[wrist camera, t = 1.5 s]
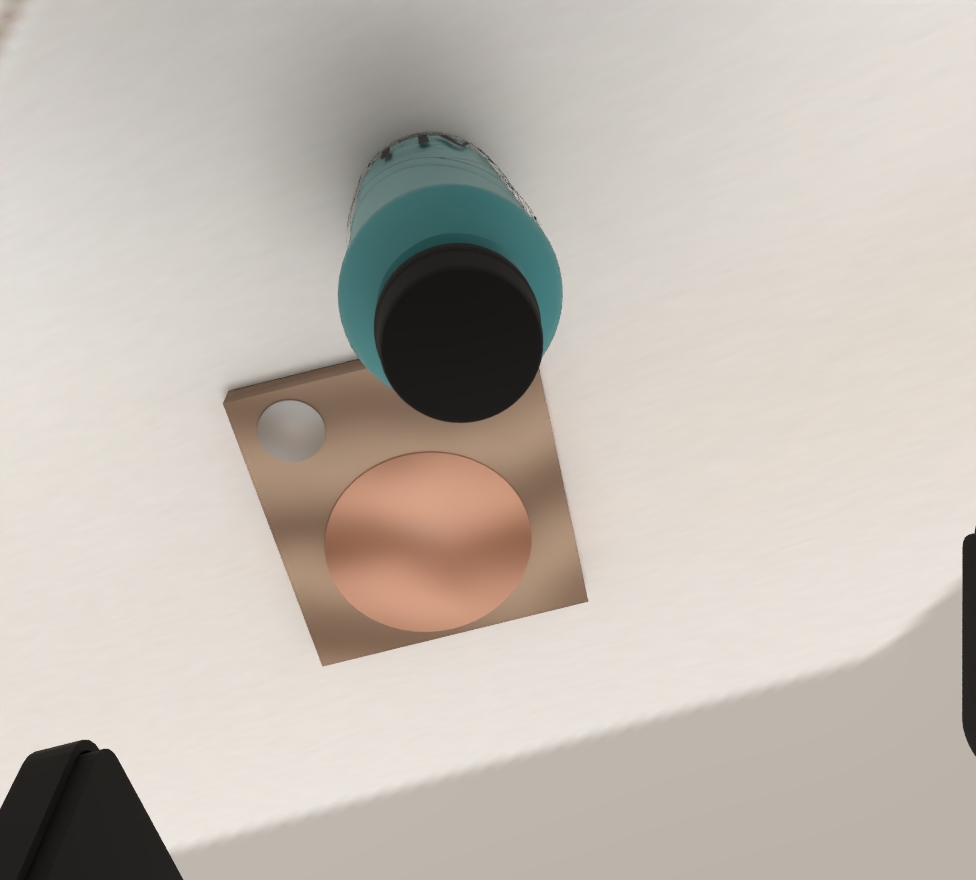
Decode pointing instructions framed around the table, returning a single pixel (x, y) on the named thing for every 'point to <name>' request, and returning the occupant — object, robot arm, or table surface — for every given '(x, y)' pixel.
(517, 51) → the table surface
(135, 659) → the table surface
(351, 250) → the beverage bottle
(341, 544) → the board
